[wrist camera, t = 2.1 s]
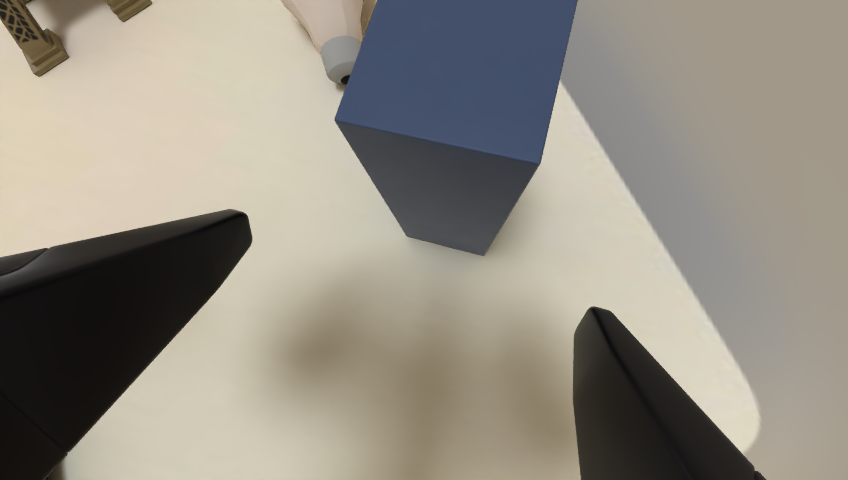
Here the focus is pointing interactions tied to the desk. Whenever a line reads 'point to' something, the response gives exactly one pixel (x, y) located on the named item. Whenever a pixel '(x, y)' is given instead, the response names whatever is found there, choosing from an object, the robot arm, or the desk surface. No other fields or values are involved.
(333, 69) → the light bulb
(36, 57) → the eiffel tower
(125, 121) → the desk surface
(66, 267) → the robot arm
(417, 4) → the blue block
